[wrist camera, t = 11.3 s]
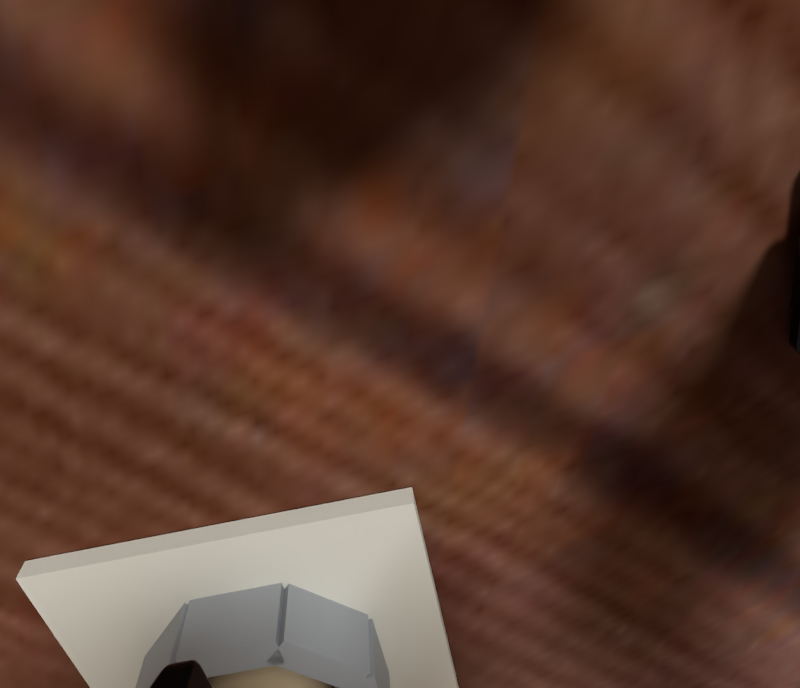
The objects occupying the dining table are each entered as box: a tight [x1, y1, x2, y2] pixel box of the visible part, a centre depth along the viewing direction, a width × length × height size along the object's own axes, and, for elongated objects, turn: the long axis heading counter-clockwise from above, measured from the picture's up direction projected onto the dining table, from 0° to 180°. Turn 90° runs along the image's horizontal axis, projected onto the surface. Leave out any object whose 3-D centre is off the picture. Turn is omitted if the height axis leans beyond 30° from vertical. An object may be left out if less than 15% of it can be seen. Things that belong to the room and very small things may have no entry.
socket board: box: [16, 487, 459, 688], centre depth 26 cm, size 14×14×3 cm
